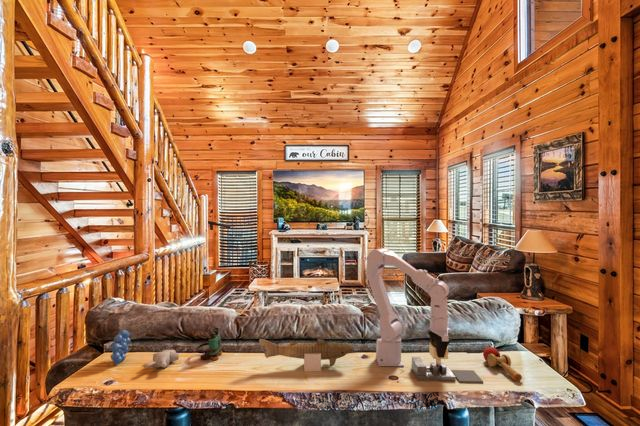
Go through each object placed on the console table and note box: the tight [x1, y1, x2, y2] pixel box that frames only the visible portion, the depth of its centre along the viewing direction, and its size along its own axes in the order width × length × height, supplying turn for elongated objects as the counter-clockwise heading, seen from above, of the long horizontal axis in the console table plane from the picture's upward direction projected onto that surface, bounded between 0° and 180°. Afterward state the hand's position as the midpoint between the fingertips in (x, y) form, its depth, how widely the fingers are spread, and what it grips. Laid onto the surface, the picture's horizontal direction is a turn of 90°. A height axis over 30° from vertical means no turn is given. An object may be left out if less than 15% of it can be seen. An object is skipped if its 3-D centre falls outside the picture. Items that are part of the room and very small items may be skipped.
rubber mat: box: [450, 369, 484, 384], centre depth 122 cm, size 8×8×1 cm
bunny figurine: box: [143, 349, 180, 369], centre depth 130 cm, size 10×5×15 cm
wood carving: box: [258, 337, 354, 372], centre depth 129 cm, size 9×35×11 cm, turn 94°
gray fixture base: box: [410, 356, 457, 382], centre depth 124 cm, size 13×9×7 cm
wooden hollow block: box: [428, 341, 449, 360], centre depth 124 cm, size 5×5×4 cm
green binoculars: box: [196, 327, 223, 361], centre depth 138 cm, size 9×11×10 cm
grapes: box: [109, 329, 132, 366], centre depth 132 cm, size 12×7×12 cm, turn 5°
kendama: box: [482, 346, 523, 383], centre depth 128 cm, size 8×6×18 cm
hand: (438, 353), depth 124 cm, fingers closed on wooden hollow block, 5 cm apart
